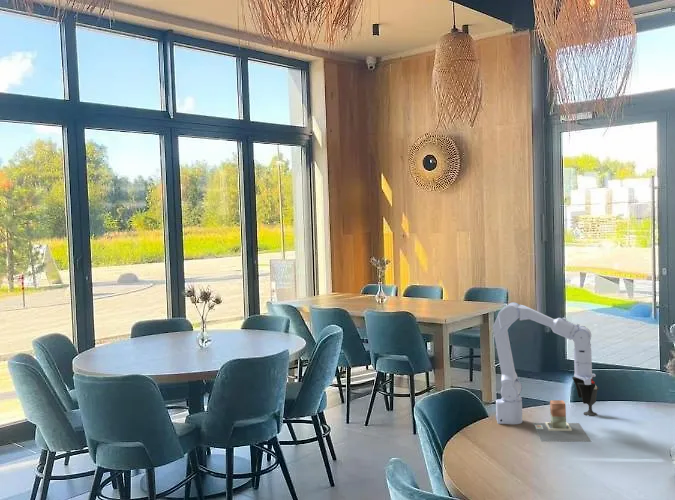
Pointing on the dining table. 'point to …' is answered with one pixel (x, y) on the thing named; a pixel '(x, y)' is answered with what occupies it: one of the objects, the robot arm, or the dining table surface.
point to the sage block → (558, 422)
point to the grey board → (561, 433)
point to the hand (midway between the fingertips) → (584, 400)
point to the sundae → (592, 400)
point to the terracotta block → (557, 408)
